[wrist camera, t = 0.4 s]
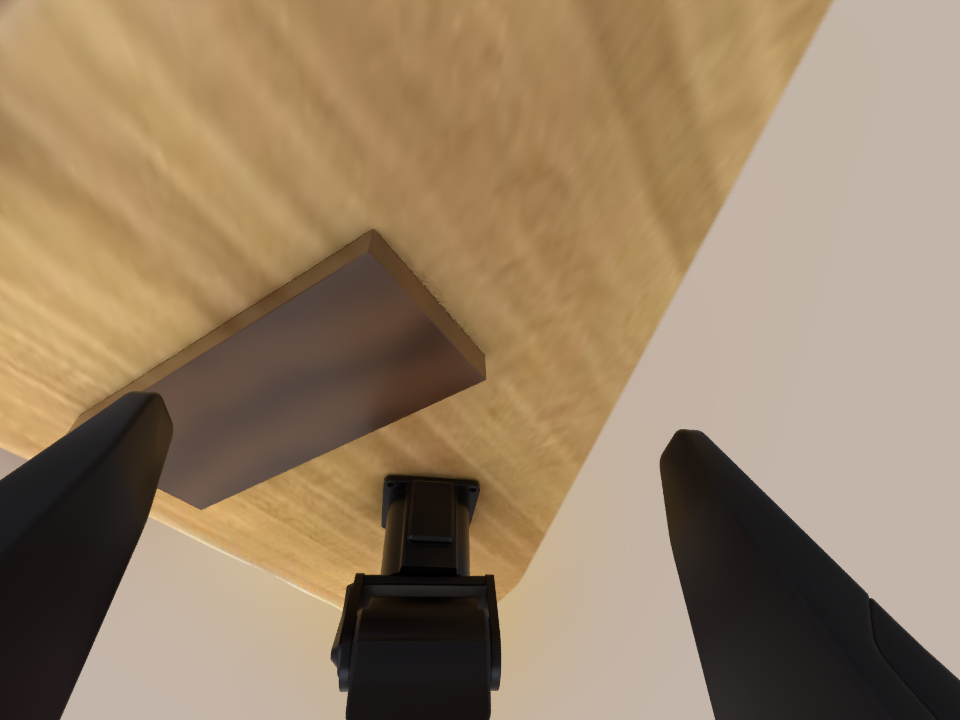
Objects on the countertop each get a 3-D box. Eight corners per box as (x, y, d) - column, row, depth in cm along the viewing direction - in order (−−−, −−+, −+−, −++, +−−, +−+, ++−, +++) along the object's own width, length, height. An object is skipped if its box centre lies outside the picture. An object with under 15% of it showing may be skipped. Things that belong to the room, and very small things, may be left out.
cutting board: (485, 355, 27) (486, 380, 26) (210, 486, 35) (201, 510, 34) (373, 228, 22) (368, 251, 21) (78, 416, 30) (61, 441, 29)
